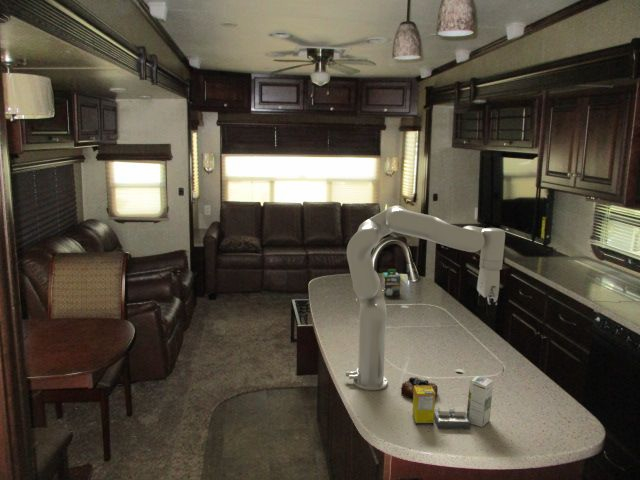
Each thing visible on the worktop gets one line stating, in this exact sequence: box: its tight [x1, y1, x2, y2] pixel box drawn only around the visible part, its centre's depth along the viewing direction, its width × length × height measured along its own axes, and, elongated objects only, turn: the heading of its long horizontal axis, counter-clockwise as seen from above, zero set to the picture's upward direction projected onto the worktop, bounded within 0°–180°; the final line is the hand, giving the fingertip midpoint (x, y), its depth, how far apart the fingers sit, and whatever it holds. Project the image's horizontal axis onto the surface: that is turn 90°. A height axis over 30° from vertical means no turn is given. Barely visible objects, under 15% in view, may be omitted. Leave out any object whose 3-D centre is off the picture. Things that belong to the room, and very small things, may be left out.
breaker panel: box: [434, 408, 471, 430], centre depth 178 cm, size 10×8×3 cm
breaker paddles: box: [437, 406, 466, 416], centre depth 178 cm, size 8×2×2 cm, turn 89°
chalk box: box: [381, 268, 401, 297], centre depth 317 cm, size 9×9×15 cm
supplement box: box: [412, 386, 436, 426], centre depth 178 cm, size 6×6×11 cm
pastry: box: [400, 376, 438, 400], centre depth 197 cm, size 11×12×6 cm
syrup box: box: [466, 375, 494, 428], centre depth 178 cm, size 6×6×14 cm
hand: (486, 310), depth 195 cm, fingers open, 9 cm apart
